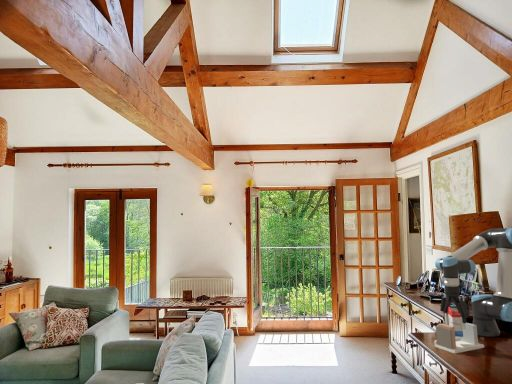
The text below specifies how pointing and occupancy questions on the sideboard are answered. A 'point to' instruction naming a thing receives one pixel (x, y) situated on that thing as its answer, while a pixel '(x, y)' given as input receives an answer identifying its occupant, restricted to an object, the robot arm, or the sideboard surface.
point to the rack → (452, 340)
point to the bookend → (470, 334)
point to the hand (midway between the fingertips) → (455, 327)
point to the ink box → (455, 322)
